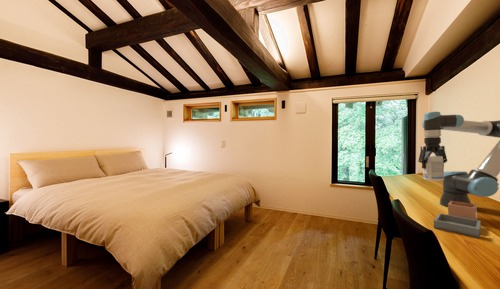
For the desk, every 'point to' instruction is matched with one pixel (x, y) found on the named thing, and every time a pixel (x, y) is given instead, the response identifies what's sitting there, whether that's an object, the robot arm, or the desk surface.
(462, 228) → the gray tray
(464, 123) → the robot arm
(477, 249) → the desk surface
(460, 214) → the terracotta bin
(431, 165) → the supplement tub
